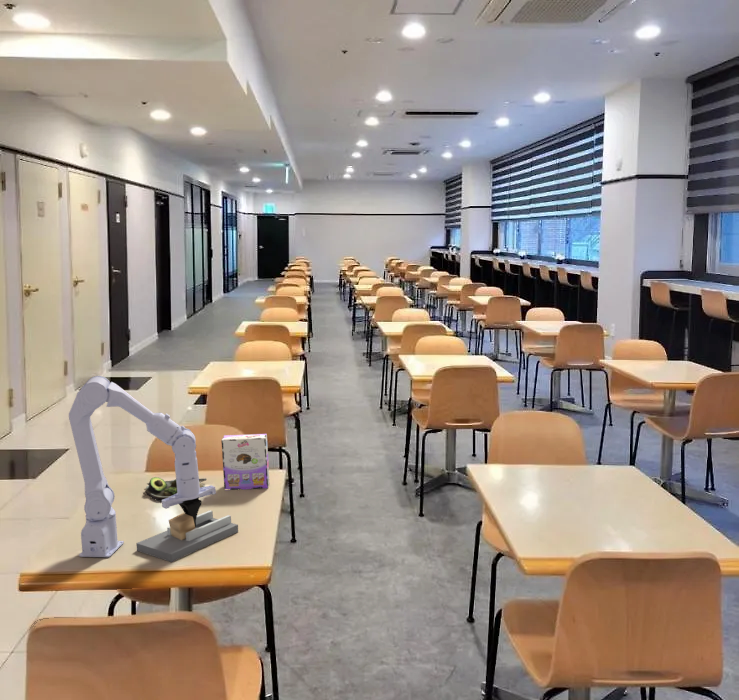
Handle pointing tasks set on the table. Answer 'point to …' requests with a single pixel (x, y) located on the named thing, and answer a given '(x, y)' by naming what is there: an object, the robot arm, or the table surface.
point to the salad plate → (164, 488)
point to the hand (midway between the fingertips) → (192, 527)
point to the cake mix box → (245, 461)
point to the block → (181, 525)
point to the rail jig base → (188, 538)
